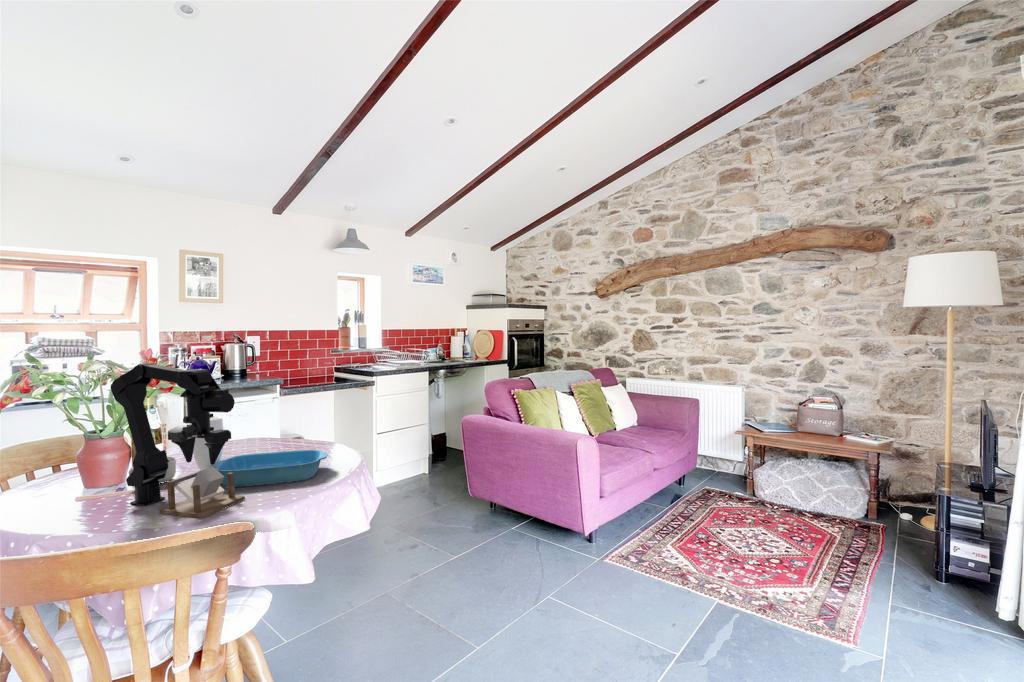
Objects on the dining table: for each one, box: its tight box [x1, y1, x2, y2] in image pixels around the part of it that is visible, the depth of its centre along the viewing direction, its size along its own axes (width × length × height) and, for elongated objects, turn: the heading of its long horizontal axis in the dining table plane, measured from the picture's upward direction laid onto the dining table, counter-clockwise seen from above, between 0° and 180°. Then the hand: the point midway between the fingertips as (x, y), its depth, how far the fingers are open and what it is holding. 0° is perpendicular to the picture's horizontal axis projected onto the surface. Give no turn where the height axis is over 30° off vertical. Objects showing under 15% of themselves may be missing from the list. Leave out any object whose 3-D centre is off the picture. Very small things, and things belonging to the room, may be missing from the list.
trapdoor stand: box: [158, 471, 246, 519], centre depth 149 cm, size 16×15×9 cm
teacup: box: [128, 456, 177, 483], centre depth 172 cm, size 14×11×8 cm
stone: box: [191, 467, 224, 497], centre depth 148 cm, size 5×5×6 cm
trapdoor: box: [175, 478, 225, 505], centre depth 149 cm, size 8×10×1 cm
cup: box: [193, 415, 224, 471], centre depth 175 cm, size 10×10×22 cm
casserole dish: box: [212, 449, 329, 488], centre depth 176 cm, size 37×22×7 cm, turn 106°
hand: (200, 463), depth 150 cm, fingers open, 9 cm apart
